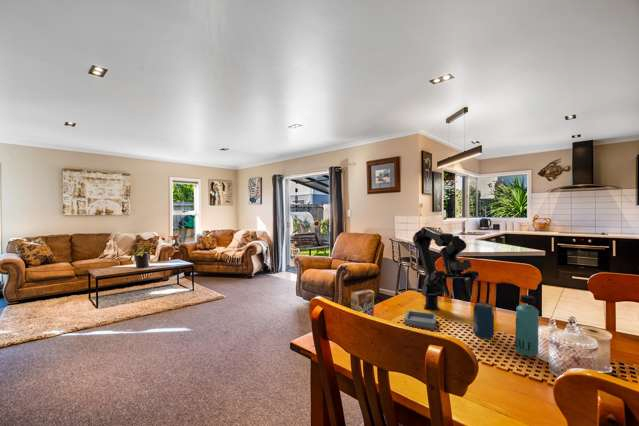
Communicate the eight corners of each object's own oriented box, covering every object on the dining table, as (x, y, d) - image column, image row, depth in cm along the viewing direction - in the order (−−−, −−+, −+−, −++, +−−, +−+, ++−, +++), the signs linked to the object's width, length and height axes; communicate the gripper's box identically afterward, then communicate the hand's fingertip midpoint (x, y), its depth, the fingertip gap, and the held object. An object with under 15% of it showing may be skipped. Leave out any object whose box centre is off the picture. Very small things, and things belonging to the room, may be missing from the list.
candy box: (356, 334, 115) (357, 294, 115) (349, 330, 119) (350, 291, 119) (374, 329, 120) (374, 291, 120) (366, 325, 124) (367, 288, 124)
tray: (407, 315, 136) (407, 310, 136) (435, 319, 132) (435, 313, 132) (404, 325, 125) (404, 319, 125) (435, 329, 121) (435, 323, 121)
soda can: (496, 336, 115) (497, 305, 115) (488, 341, 111) (489, 308, 111) (478, 330, 120) (478, 300, 120) (469, 334, 116) (470, 303, 116)
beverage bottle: (534, 353, 101) (535, 294, 101) (541, 363, 95) (543, 299, 95) (512, 350, 104) (513, 292, 103) (517, 359, 97) (519, 297, 97)
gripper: (436, 252, 123) (446, 290, 115) (480, 252, 124) (493, 290, 116) (426, 262, 132) (434, 298, 124) (467, 262, 134) (478, 298, 125)
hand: (459, 296), depth 122 cm, fingers open, 9 cm apart
